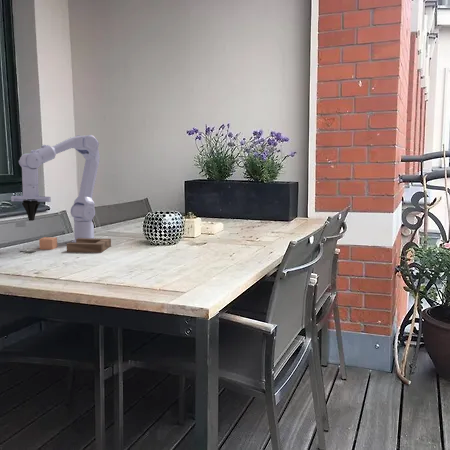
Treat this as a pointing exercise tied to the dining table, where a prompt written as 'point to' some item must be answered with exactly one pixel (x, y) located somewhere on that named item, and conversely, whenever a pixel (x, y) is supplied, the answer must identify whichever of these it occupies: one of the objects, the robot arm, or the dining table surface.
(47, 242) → the key block
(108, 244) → the tray
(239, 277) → the dining table surface
